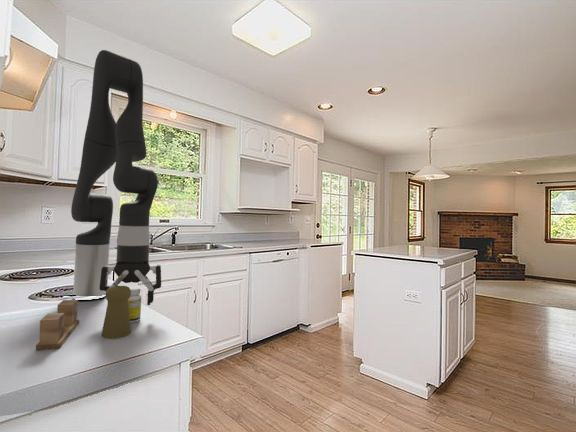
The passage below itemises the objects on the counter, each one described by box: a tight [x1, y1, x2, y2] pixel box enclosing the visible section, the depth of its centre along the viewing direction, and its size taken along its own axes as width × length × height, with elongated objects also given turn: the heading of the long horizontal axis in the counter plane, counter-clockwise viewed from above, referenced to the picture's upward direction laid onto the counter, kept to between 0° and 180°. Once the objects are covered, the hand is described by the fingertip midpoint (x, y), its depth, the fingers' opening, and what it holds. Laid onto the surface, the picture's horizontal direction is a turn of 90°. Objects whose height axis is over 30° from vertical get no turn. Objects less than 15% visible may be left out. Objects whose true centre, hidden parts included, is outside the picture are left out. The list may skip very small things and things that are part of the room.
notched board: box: [35, 299, 80, 351], centre depth 71 cm, size 15×4×6 cm, turn 21°
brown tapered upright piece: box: [101, 285, 132, 340], centre depth 73 cm, size 6×6×11 cm
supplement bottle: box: [128, 286, 142, 324], centre depth 82 cm, size 5×5×8 cm
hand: (130, 305), depth 82 cm, fingers open, 8 cm apart
